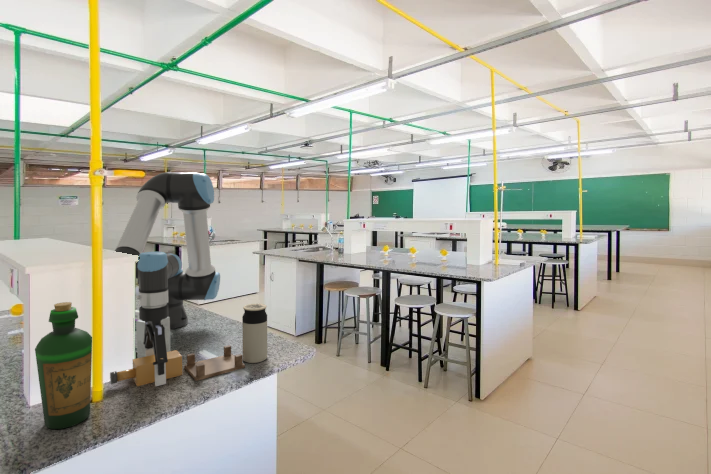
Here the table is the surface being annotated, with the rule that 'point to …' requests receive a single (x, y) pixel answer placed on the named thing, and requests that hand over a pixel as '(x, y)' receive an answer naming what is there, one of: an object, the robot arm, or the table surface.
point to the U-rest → (214, 365)
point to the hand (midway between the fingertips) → (155, 376)
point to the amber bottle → (149, 369)
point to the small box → (140, 336)
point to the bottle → (64, 369)
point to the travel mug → (254, 333)
